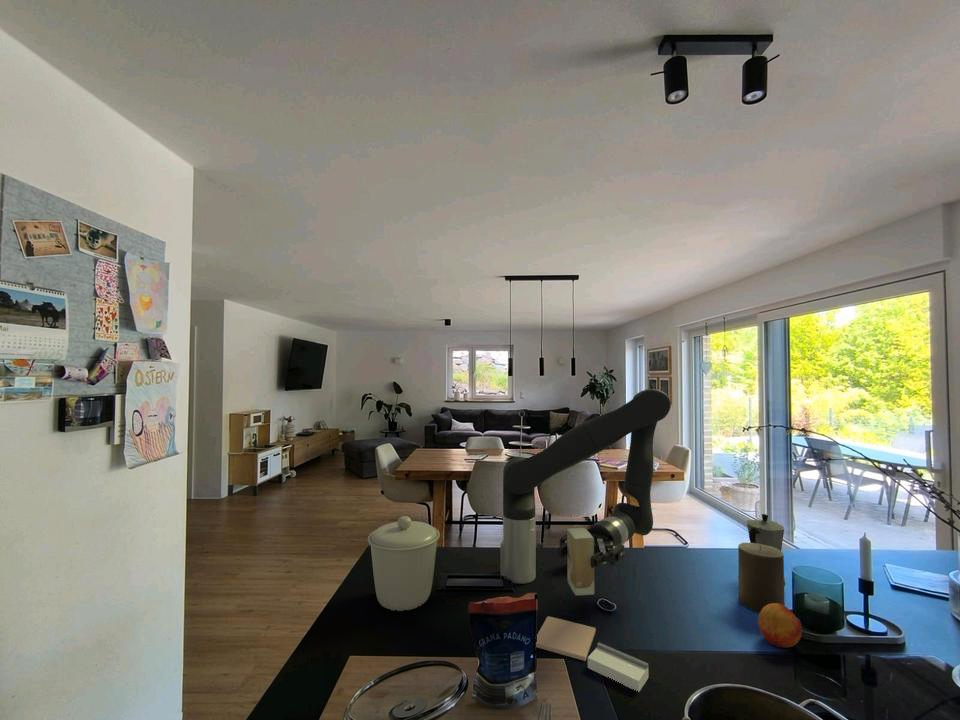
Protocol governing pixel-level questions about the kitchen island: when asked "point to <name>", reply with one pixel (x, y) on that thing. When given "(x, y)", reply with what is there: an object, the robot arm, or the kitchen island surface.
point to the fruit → (779, 625)
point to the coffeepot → (766, 532)
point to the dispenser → (618, 666)
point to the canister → (403, 563)
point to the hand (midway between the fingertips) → (575, 558)
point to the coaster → (565, 638)
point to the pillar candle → (760, 575)
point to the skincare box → (580, 561)
